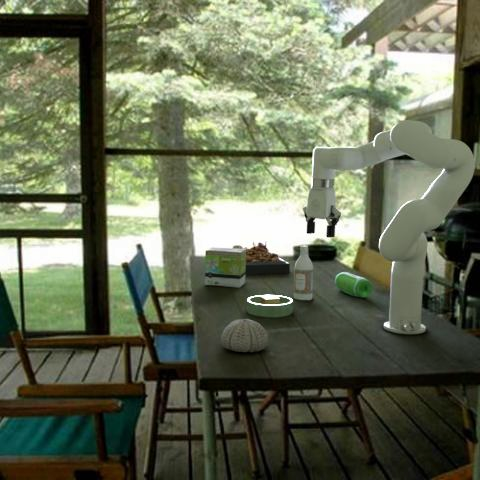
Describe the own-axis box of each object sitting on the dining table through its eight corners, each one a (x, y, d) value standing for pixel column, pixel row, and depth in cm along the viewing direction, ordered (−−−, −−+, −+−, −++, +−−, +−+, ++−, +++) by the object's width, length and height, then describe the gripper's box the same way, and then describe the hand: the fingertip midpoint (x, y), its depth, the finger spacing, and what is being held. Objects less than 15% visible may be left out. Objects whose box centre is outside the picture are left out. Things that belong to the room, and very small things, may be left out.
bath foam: (290, 299, 230) (291, 246, 228) (298, 296, 236) (299, 244, 234) (307, 302, 227) (309, 247, 224) (315, 298, 233) (316, 245, 230)
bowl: (293, 319, 202) (294, 305, 202) (247, 318, 203) (247, 304, 202) (290, 308, 218) (291, 295, 217) (247, 307, 218) (247, 294, 217)
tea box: (204, 285, 254) (204, 250, 252) (211, 281, 264) (211, 246, 262) (240, 288, 250) (240, 251, 248) (245, 283, 260) (246, 248, 258)
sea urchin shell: (219, 341, 177) (219, 314, 176) (266, 341, 178) (267, 313, 177) (221, 356, 164) (221, 326, 163) (272, 355, 165) (272, 326, 163)
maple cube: (279, 312, 209) (279, 298, 208) (265, 313, 207) (265, 299, 206) (273, 309, 213) (274, 295, 213) (260, 310, 212) (260, 296, 211)
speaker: (333, 290, 248) (333, 271, 247) (348, 289, 251) (349, 270, 250) (356, 299, 232) (356, 279, 231) (372, 298, 234) (373, 278, 233)
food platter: (218, 258, 323) (219, 239, 321) (264, 257, 328) (265, 238, 327) (236, 274, 279) (237, 252, 278) (289, 273, 284) (289, 250, 283)
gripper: (297, 182, 212) (295, 232, 214) (333, 186, 198) (330, 239, 200) (313, 182, 216) (311, 231, 218) (349, 186, 202) (346, 238, 205)
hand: (320, 235), depth 209 cm, fingers open, 9 cm apart
